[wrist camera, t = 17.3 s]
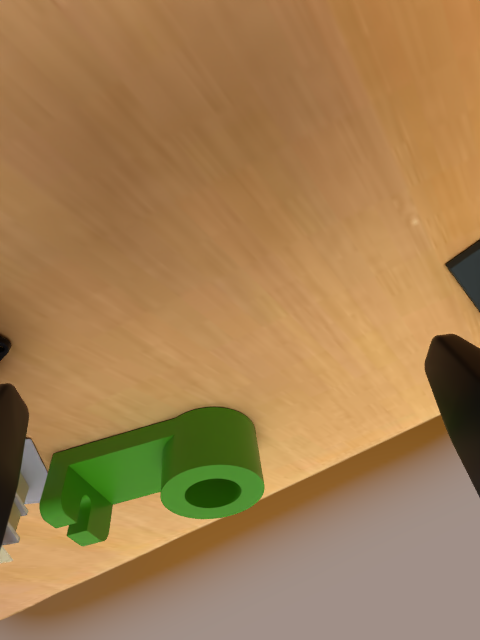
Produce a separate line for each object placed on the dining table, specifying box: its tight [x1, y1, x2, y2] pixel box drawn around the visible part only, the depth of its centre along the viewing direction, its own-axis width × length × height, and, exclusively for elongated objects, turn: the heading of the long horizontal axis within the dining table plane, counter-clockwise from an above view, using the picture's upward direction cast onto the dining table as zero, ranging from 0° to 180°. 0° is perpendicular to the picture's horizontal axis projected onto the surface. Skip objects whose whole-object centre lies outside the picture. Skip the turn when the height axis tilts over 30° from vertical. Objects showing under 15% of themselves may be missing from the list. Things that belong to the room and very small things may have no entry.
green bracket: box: [40, 407, 264, 546], centre depth 30 cm, size 15×7×5 cm, turn 107°
